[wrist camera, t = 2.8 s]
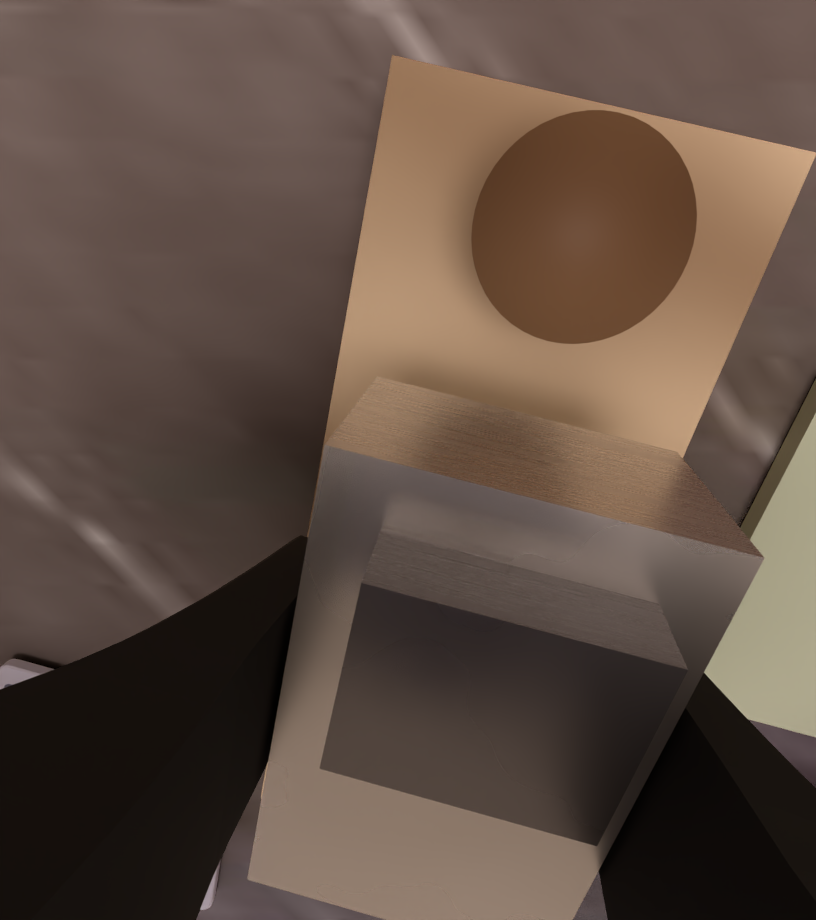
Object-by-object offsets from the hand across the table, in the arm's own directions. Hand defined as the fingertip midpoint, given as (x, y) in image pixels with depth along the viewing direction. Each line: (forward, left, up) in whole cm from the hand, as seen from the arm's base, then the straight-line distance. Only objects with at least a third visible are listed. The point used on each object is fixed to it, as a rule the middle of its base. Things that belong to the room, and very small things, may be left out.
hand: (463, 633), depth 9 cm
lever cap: (0, 0, -1) cm, 1 cm away
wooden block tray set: (-1, 0, -6) cm, 6 cm away
